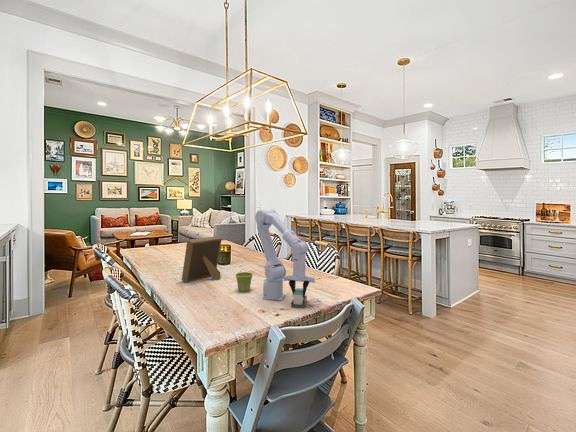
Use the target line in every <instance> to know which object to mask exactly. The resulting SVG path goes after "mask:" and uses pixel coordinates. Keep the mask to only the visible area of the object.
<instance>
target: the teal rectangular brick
mask: <svg viewBox="0 0 576 432" xmlns="http://www.w3.org/2000/svg"><path fill="white" fill-rule="evenodd" d="M292 297H293V299H292V300H293V304H298V305H302V303H303V301H304V299H305V297H304V298H303V287H302V288H300V287H299V288H298V287H295V292H294V293H292Z"/></svg>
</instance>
